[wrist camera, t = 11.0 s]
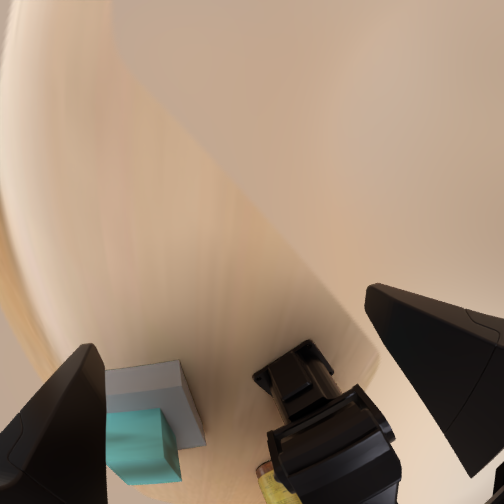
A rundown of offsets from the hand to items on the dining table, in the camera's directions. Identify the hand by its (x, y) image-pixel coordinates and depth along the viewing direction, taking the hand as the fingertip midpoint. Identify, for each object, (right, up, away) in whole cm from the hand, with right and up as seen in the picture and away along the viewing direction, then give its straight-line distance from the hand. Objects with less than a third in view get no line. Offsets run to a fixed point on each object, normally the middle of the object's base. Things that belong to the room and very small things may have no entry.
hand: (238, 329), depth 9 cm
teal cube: (-9, -13, +13) cm, 21 cm away
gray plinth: (-10, -12, +16) cm, 22 cm away
